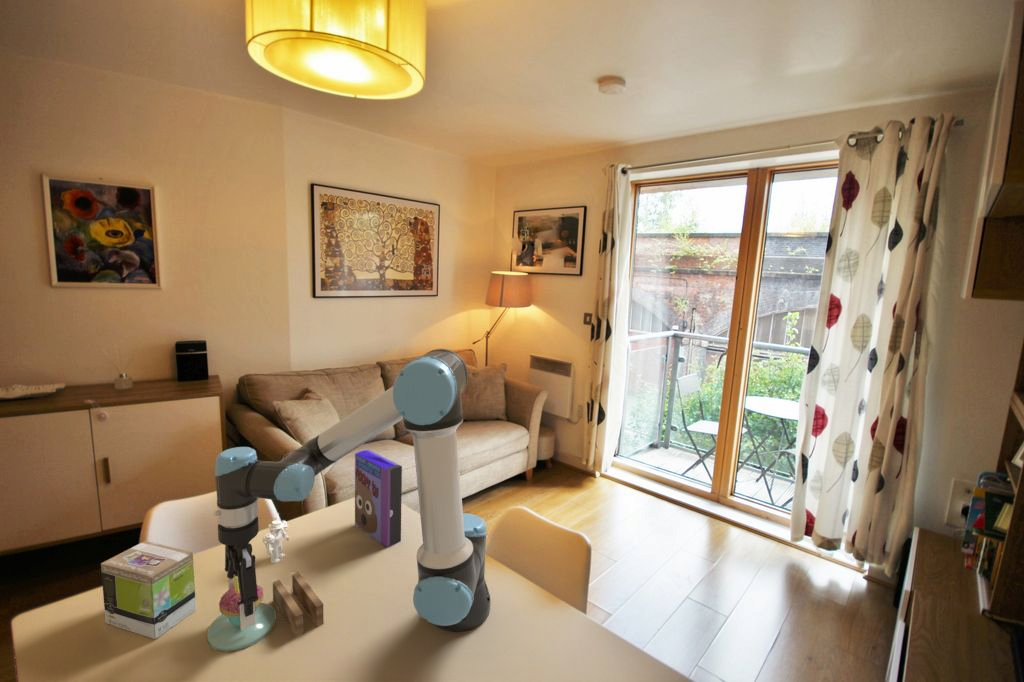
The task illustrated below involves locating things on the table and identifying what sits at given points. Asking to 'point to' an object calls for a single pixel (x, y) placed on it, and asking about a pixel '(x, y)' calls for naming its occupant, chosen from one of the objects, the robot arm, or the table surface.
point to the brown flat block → (307, 599)
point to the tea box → (148, 588)
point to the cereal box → (378, 497)
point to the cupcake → (235, 602)
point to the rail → (288, 608)
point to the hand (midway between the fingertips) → (242, 614)
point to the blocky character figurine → (276, 539)
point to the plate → (233, 637)
